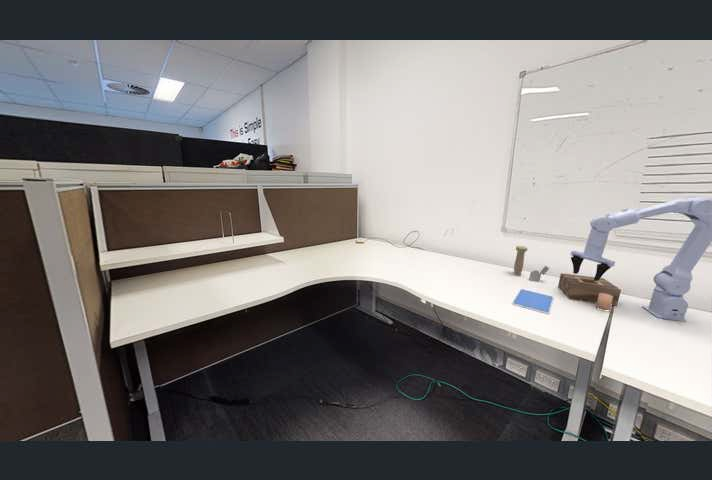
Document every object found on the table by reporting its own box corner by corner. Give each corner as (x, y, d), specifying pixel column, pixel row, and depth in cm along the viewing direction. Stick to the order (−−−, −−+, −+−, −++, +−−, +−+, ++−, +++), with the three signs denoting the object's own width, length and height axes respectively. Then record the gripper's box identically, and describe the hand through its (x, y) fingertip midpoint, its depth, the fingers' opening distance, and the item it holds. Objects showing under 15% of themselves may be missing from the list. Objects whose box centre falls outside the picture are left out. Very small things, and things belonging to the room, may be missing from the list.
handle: (520, 273, 142) (525, 246, 139) (523, 277, 136) (528, 249, 133) (510, 272, 144) (515, 245, 140) (513, 276, 138) (517, 248, 134)
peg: (611, 312, 101) (615, 298, 100) (598, 310, 102) (602, 296, 101) (606, 307, 105) (609, 293, 103) (593, 306, 106) (597, 292, 105)
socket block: (616, 305, 107) (621, 290, 105) (569, 298, 112) (572, 283, 111) (600, 292, 119) (603, 278, 118) (557, 286, 125) (560, 273, 123)
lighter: (530, 280, 132) (533, 265, 130) (529, 279, 134) (531, 264, 132) (546, 282, 130) (549, 267, 128) (545, 281, 132) (548, 266, 130)
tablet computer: (549, 316, 98) (549, 313, 98) (510, 305, 106) (511, 302, 106) (553, 299, 112) (554, 296, 112) (519, 291, 120) (520, 288, 120)
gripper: (569, 241, 112) (561, 271, 116) (611, 251, 99) (600, 284, 102) (580, 240, 115) (571, 270, 118) (622, 250, 102) (611, 283, 105)
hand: (585, 276), depth 110 cm, fingers open, 7 cm apart
